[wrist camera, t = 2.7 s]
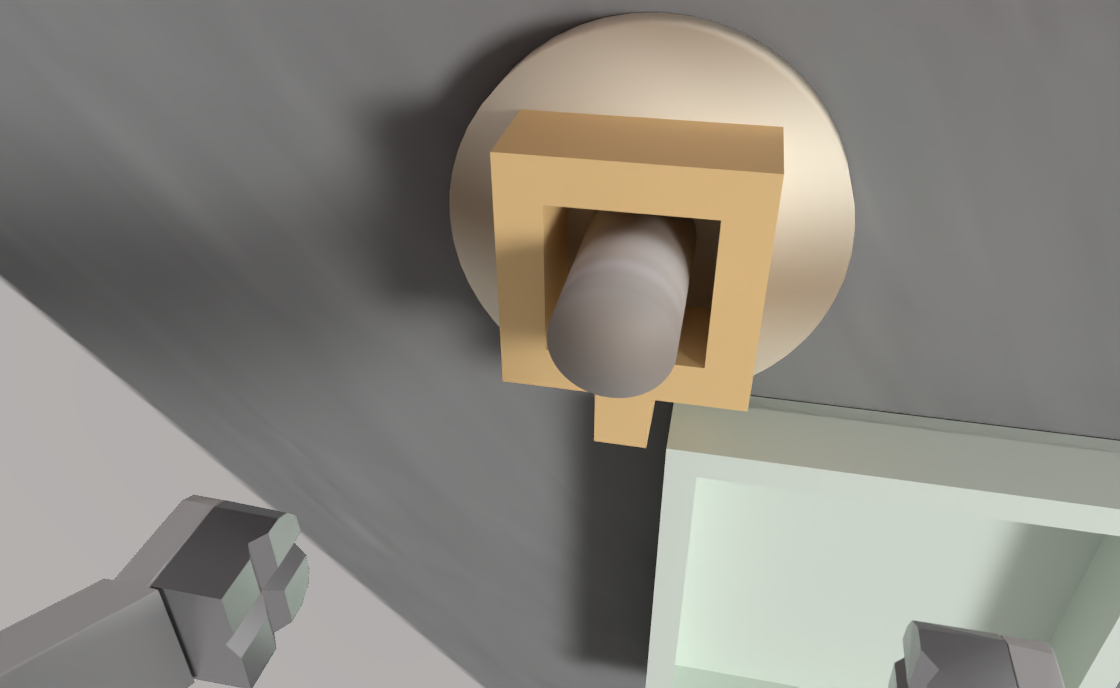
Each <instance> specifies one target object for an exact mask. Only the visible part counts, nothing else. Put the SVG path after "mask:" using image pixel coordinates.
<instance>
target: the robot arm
mask: <svg viewBox="0 0 1120 688" xmlns="http://www.w3.org/2000/svg"><path fill="white" fill-rule="evenodd" d="M300 533H301V532H300V529H299V525H298V522H297V518H296V515H292V514H289V513H285V512H280V511H275V510H270V509H265V508H260V507H255V506H250V505H245V504H240V503H235V502H231V501H226V500H225V501H224V500H219V499H214V498H208V497H203V496H198V495H192V496H190V497H189V498H186V499H185V500H183V501H182V502H181V503H180V504H179V505H178V506H177V507H176V508H175V509H174V511H173V512H172V513H171V514H170V515H169V516H168V518H167V519H166V520H165V521H164V522H163V523H162V525H161V526H160V527H159V528H158V529H157V530H156V532H155V533H154V534H153V535H152V536H151V537H150V539H149V540H148V541H147V542H146V543H145V544H144V545H143V547H142V548H141V549H140V550H139V551H138V553H137V554H136V555H135V556H134V557H133V558H132V559H131V561H130V562H129V563H128V564H127V565H126V566H125V568H124V569H123V570H122V571H121V572H120V573H119V575H118V576H117V577H116V578H115V579H114V580H109V579H102V580H100V581H98V582H97V583H95V584H93V585H91V586H89V587H87V588H85V589H83V590H81V591H79V592H77V593H75V594H73V595H71V596H69V597H67V598H65V599H63V600H61V601H59V602H57V603H55V604H53V605H51V606H49V607H47V608H45V609H43V610H41V611H39V612H37V613H35V614H33V615H31V616H29V617H27V618H25V619H24V620H21V621H19V622H17V623H15V624H13V625H12V626H10V627H8V628H5V629H3V630H1V631H0V688H188V687H189V686H190V685H192V684H193V683H194V679H198V680H204V681H209V682H214V683H220V684H225V685H231V686H236V687H241V688H253V686H254V684H255V683H256V681H257V680H258V678H259V676H260V675H261V673H262V671H263V669H264V668H265V666H266V664H267V663H268V661H269V660H270V658H271V656H272V655H273V653H274V651H275V650H276V643H275V636H274V632H276V631H278V630H279V629H281V628H283V627H284V626H286V625H287V624H289V623H291V622H292V621H293V619H294V618H295V616H296V614H297V612H298V611H299V609H300V607H301V605H302V603H303V600H304V596H305V593H306V590H307V587H308V583H309V566H308V562H307V557H306V554H304V552H303V551H302V550H301V549H300V548H299V547H298V546H297V545H296V544H295V543H294V542H295V541H296V539H297V537H298V536H299V534H300ZM902 640H903V649H904V658H902V659H900V660H899V661H897V662H895V663H894V666H893V669H892V673H891V676H890V679H889V685H888V688H1065V685H1064V682H1063V679H1062V676H1061V672H1060V669H1059V666H1058V663H1057V659H1056V656H1055V653H1054V651H1053V649H1052V648H1051V647H1050V646H1049V644H1048V643H1045V642H1039V641H1033V640H1027V639H1021V638H1015V637H1010V636H1004V635H1000V636H999V635H998V634H996V633H989V632H983V631H977V630H971V629H964V628H958V627H952V626H946V625H940V624H933V623H927V622H921V621H915V620H912V621H911V622H910V623H909V625H908V626H907V628H906V631H905V634H904V636H903V639H902Z"/></svg>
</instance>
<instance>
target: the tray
mask: <svg viewBox="0 0 1120 688" xmlns="http://www.w3.org/2000/svg"><path fill="white" fill-rule="evenodd" d="M912 620H915V621H921V622H927V623H933V624H940V625H946V626H952V627H958V628H964V629H971V630H977V631H983V632H989V633H996V634H998V635H999V636H1000V635H1004V636H1010V637H1015V638H1021V639H1027V640H1033V641H1039V642H1045V643H1048V644H1049V646H1050V647H1051V648H1052V649H1053V651H1054V653H1055V656H1056V659H1057V663H1058V666H1059V669H1060V672H1061V676H1062V679H1063V682H1064V685H1065V688H1116V686H1117V684H1118V683H1119V681H1120V441H1117V440H1109V439H1101V438H1093V437H1084V436H1076V435H1068V434H1060V433H1051V432H1043V431H1035V430H1027V429H1018V428H1010V427H1002V426H994V425H985V424H977V423H969V422H961V421H952V420H944V419H936V418H928V417H920V416H911V415H903V414H895V413H887V412H878V411H870V410H862V409H854V408H845V407H837V406H829V405H821V404H812V403H804V402H796V401H788V400H779V399H771V398H763V397H755V396H750V400H749V406H748V412H746V411H738V410H730V409H722V408H714V407H706V406H698V405H690V404H682V403H674V404H673V411H672V417H671V423H670V429H669V435H668V441H667V447H666V458H665V470H664V481H663V493H662V504H661V516H660V527H659V539H658V551H657V562H656V574H655V585H654V597H653V608H652V620H651V632H650V643H649V655H648V666H647V678H646V688H888V685H889V679H890V676H891V673H892V669H893V666H894V663H895V662H897V661H899V660H900V659H902V658H904V649H903V640H902V639H903V636H904V634H905V631H906V628H907V626H908V625H909V623H910V622H911V621H912Z"/></svg>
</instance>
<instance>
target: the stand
mask: <svg viewBox="0 0 1120 688" xmlns="http://www.w3.org/2000/svg"><path fill="white" fill-rule="evenodd" d="M521 109H523V110H538V111H553V112H568V113H583V114H598V115H613V116H628V117H643V118H658V119H673V120H688V121H703V122H718V123H733V124H748V125H763V126H778V127H783V128H784V179H783V185H782V192H781V198H780V205H779V211H778V218H777V224H776V231H775V237H774V244H773V250H772V257H771V263H770V270H769V276H768V283H767V289H766V296H765V302H764V309H763V315H762V322H761V328H760V335H759V341H758V348H757V354H756V361H755V367H754V374H753V375H755V374H757V373H759V372H761V371H763V370H765V369H767V368H769V367H770V366H772V365H773V364H775V363H776V362H778V361H779V360H780V359H782V358H783V357H785V356H786V355H788V354H789V353H790V352H791V351H792V350H793V349H795V348H796V347H797V346H798V345H799V344H800V343H801V342H802V341H804V340H805V339H806V338H807V337H808V335H809V334H810V333H811V332H812V331H813V330H814V328H815V327H816V326H817V325H818V324H819V323H820V322H821V320H822V319H823V317H824V316H825V314H826V313H827V311H828V309H829V308H830V306H831V305H832V303H833V302H834V300H835V298H836V296H837V294H838V291H839V289H840V287H841V285H842V283H843V281H844V278H845V275H846V272H847V268H848V265H849V261H850V258H851V254H852V247H853V240H854V232H855V209H854V199H853V193H852V187H851V181H850V175H849V170H848V164H847V158H846V154H845V151H844V148H843V145H842V142H841V139H840V136H839V133H838V130H837V128H836V126H835V124H834V122H833V121H832V119H831V117H830V115H829V113H828V111H827V109H826V107H825V106H824V104H823V103H822V101H821V100H820V98H819V97H818V96H817V94H816V93H815V91H814V90H813V89H812V87H811V86H810V85H809V84H808V83H807V82H806V80H805V79H804V78H803V77H802V76H801V75H800V74H799V73H798V72H797V71H796V70H795V69H794V68H793V67H792V66H791V65H790V64H789V63H787V62H786V61H785V60H784V59H782V58H781V57H780V56H779V55H777V54H776V53H775V52H774V51H772V50H771V49H770V48H768V47H767V46H765V45H763V44H761V43H760V42H758V41H756V40H754V39H753V38H751V37H749V36H748V35H746V34H744V33H742V32H739V31H737V30H734V29H732V28H729V27H727V26H725V25H722V24H720V23H717V22H713V21H709V20H705V19H701V18H698V17H694V16H690V15H681V14H672V13H664V12H646V13H628V14H622V15H616V16H610V17H604V18H601V19H597V20H594V21H591V22H588V23H585V24H581V25H578V26H576V27H574V28H572V29H570V30H567V31H565V32H563V33H561V34H559V35H557V36H555V37H553V38H551V39H550V40H548V41H547V42H545V43H544V44H542V45H541V46H539V47H538V48H536V49H535V50H533V51H532V52H530V53H529V54H528V55H527V56H526V57H525V58H524V59H523V60H521V61H520V62H519V63H518V64H517V65H516V66H515V67H514V68H512V70H511V71H510V72H509V73H508V74H507V75H506V77H505V78H504V79H503V80H502V81H501V82H500V84H499V85H498V86H497V87H496V88H495V89H494V91H493V92H492V93H491V94H490V95H489V97H488V98H487V99H486V100H485V101H484V102H483V104H482V105H481V106H480V108H479V110H478V111H477V113H476V114H475V116H474V118H473V119H472V121H471V122H470V124H469V126H468V128H467V130H466V132H465V135H464V137H463V139H462V142H461V144H460V146H459V149H458V152H457V156H456V160H455V163H454V167H453V171H452V178H451V186H450V194H449V201H450V222H451V229H452V235H453V241H454V245H455V248H456V252H457V255H458V258H459V262H460V264H461V267H462V269H463V271H464V274H465V276H466V278H467V280H468V283H469V285H470V286H471V288H472V290H473V291H474V293H475V295H476V296H477V298H478V300H479V302H480V303H481V305H482V306H483V307H484V308H485V310H486V311H487V312H488V314H489V315H490V316H491V318H492V319H493V320H494V322H495V323H496V324H497V325H498V326H499V327H500V322H499V304H498V286H497V268H496V250H495V232H494V214H493V196H492V178H491V160H490V151H491V150H492V149H493V147H494V146H495V144H496V143H497V142H498V140H499V139H500V138H501V136H502V135H503V134H504V132H505V131H506V129H507V128H508V127H509V125H510V124H511V123H512V121H513V120H514V119H515V117H516V116H517V114H518V113H519V112H520V110H521ZM720 227H721V221H720V220H709V219H697V218H686V217H674V216H663V215H651V214H640V213H628V212H616V211H605V210H593V209H582V208H570V207H568V277H567V280H566V282H565V285H564V287H563V290H562V292H561V295H560V297H559V300H558V302H557V305H556V307H555V309H554V312H553V314H552V317H551V319H550V322H549V324H548V329H547V346H548V350H549V353H550V356H551V358H552V360H553V362H554V364H555V366H556V367H557V368H558V370H559V371H560V372H561V373H562V374H563V375H564V376H565V377H566V378H567V379H568V380H569V381H570V382H572V383H573V384H575V385H576V386H578V387H579V388H581V389H583V390H585V391H587V392H590V393H592V394H595V395H599V396H603V397H609V398H628V397H635V396H638V395H642V394H644V393H647V392H649V391H651V390H653V389H655V388H656V387H657V386H659V385H660V384H661V383H662V382H663V381H664V380H665V379H666V378H667V377H668V376H669V374H670V373H671V371H672V369H673V367H674V365H675V362H676V358H677V352H678V346H679V340H680V334H681V328H682V322H683V317H684V311H685V305H686V306H695V307H705V308H711V307H712V298H713V289H714V281H715V272H716V263H717V254H718V245H719V236H720Z"/></svg>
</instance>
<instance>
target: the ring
mask: <svg viewBox="0 0 1120 688" xmlns="http://www.w3.org/2000/svg"><path fill="white" fill-rule="evenodd" d="M490 160H491V178H492V196H493V214H494V232H495V250H496V268H497V286H498V304H499V322H500V340H501V358H502V376H503V381H505V382H513V383H521V384H529V385H537V386H545V387H553V388H561V389H569V390H577V391H585V390H583V389H581V388H579V387H578V386H576V385H575V384H573V383H572V382H570V381H569V380H568V379H567V378H566V377H565V376H564V375H563V374H562V373H561V372H560V371H559V370H558V368H557V367H556V366H555V364H554V362H553V360H552V358H551V356H550V353H549V350H548V346H547V329H548V324H549V322H550V319H551V317H552V314H553V312H554V309H555V307H556V305H557V302H558V300H559V297H560V295H561V292H562V290H563V287H564V285H565V282H566V280H567V277H568V207H570V208H582V209H593V210H605V211H616V212H628V213H640V214H651V215H663V216H674V217H686V218H697V219H709V220H720V221H721V227H720V236H719V245H718V254H717V263H716V272H715V281H714V289H713V298H712V307H711V308H705V307H695V306H686V305H685V311H684V317H683V322H682V328H681V334H680V340H679V346H678V352H677V358H676V362H675V365H674V367H673V369H672V371H671V373H670V374H669V376H668V377H667V378H666V379H665V380H664V381H663V382H662V383H661V384H660V385H659V386H657V387H656V388H655V389H653V390H651V391H649V392H647V393H644V394H642V395H638V396H635V397H628V398H609V397H603V396H599V395H595V418H594V441H598V442H605V443H612V444H620V445H627V446H635V447H642V448H646V446H647V441H648V436H649V430H650V425H651V420H652V415H653V410H654V404H655V400H658V401H666V402H674V403H682V404H690V405H698V406H706V407H714V408H722V409H730V410H738V411H746V412H748V406H749V400H750V393H751V387H752V380H753V374H754V367H755V361H756V354H757V348H758V341H759V335H760V328H761V322H762V315H763V309H764V302H765V296H766V289H767V283H768V276H769V270H770V263H771V257H772V250H773V244H774V237H775V231H776V224H777V218H778V211H779V205H780V198H781V192H782V185H783V179H784V128H783V127H778V126H763V125H748V124H733V123H718V122H703V121H688V120H673V119H658V118H643V117H628V116H613V115H598V114H583V113H568V112H553V111H538V110H523V109H521V110H520V112H519V113H518V114H517V116H516V117H515V119H514V120H513V121H512V123H511V124H510V125H509V127H508V128H507V129H506V131H505V132H504V134H503V135H502V136H501V138H500V139H499V140H498V142H497V143H496V144H495V146H494V147H493V149H492V150H491V151H490ZM585 392H587V391H585Z"/></svg>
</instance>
